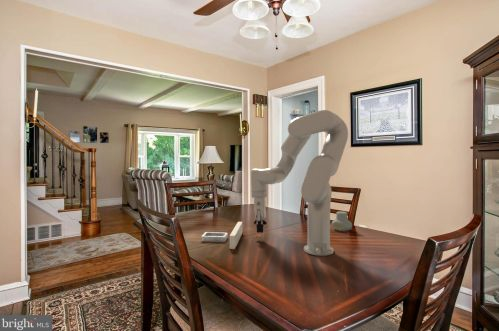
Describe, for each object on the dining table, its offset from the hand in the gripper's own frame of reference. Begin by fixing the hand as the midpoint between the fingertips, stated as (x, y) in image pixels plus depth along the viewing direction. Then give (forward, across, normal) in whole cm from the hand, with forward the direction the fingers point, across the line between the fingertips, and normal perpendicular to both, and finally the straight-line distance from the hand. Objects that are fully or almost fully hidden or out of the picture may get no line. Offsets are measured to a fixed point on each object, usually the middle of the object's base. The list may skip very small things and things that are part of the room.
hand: (260, 231), depth 133 cm
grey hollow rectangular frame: (+4, 0, +23) cm, 23 cm away
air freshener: (+6, +24, -44) cm, 51 cm away
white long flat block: (+5, 0, +12) cm, 13 cm away
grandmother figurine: (+3, 0, 0) cm, 4 cm away
